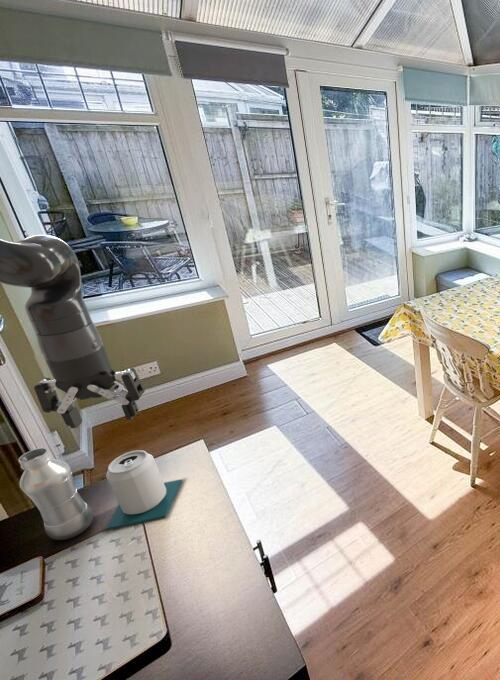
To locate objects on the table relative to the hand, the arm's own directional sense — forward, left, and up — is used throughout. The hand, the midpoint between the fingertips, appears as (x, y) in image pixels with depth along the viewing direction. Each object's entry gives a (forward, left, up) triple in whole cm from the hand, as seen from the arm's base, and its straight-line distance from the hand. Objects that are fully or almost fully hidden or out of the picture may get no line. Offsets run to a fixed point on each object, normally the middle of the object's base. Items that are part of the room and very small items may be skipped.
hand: (105, 421), depth 80 cm
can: (+1, 0, -23) cm, 23 cm away
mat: (+1, 0, -23) cm, 23 cm away
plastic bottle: (-10, -3, -23) cm, 26 cm away
